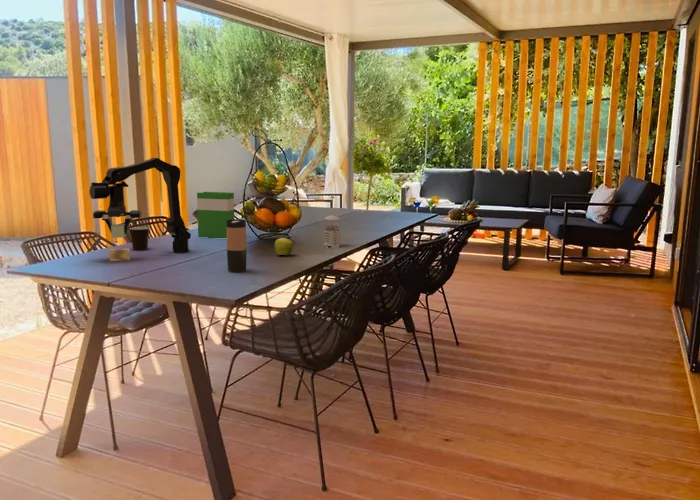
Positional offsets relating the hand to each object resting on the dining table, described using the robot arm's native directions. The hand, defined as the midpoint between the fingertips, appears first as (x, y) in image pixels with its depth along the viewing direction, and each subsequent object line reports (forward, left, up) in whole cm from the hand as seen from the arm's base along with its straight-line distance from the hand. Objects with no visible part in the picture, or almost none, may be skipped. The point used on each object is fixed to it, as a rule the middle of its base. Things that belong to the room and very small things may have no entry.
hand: (118, 234), depth 255 cm
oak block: (0, 0, -11) cm, 11 cm away
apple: (-70, -1, -11) cm, 71 cm away
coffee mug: (-5, -25, -11) cm, 28 cm away
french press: (-96, -24, -11) cm, 99 cm away
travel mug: (-50, +30, -11) cm, 59 cm away
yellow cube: (0, 0, -1) cm, 1 cm away
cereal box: (-38, -58, -11) cm, 70 cm away
